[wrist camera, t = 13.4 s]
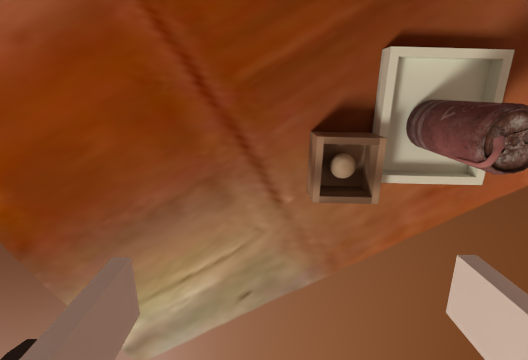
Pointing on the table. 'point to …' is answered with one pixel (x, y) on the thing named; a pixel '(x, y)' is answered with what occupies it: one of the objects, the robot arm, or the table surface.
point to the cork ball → (342, 165)
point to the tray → (432, 88)
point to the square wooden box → (364, 177)
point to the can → (473, 133)
